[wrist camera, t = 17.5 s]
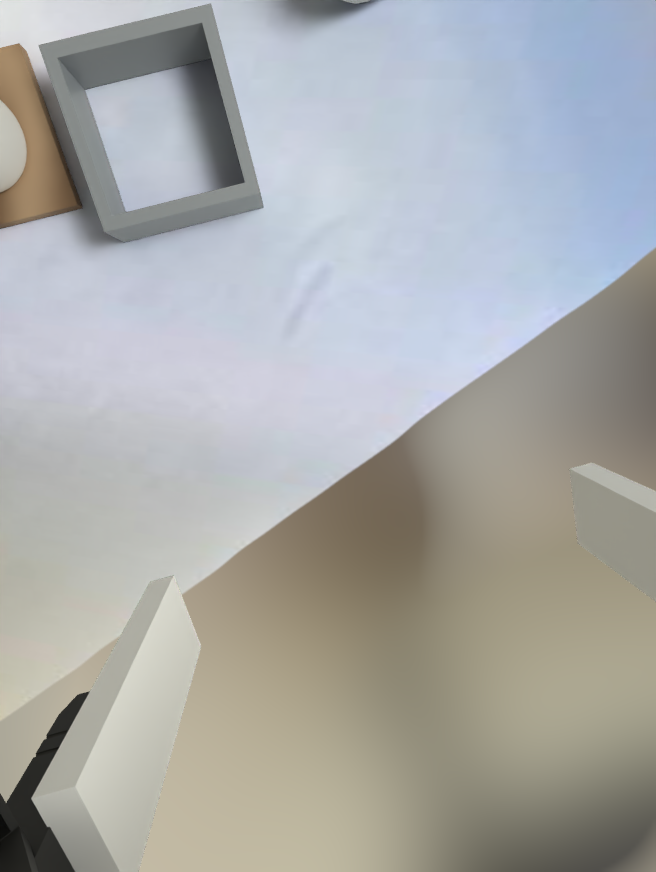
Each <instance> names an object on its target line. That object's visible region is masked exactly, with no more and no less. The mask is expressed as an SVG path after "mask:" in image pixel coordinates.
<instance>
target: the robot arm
mask: <svg viewBox="0 0 656 872" xmlns="http://www.w3.org/2000/svg"><path fill="white" fill-rule="evenodd" d="M570 478H571V486H572V496H573V505H574V513H575V521H576V531H577V540H578V544H579V545H581V546H582V547H583V548H585V549H586V550H587V551H589V552H590V553H592V554H593V555H594V556H595V557H597V558H598V559H599V560H601V561H602V562H603V563H605V564H606V565H607V566H609V567H610V568H612V569H613V570H614V571H615V572H617V573H618V574H619V575H621V576H622V577H624V578H625V579H626V580H627V581H629V582H630V583H631V584H633V585H634V586H635V587H637V588H638V589H639V590H641V591H642V592H643V593H645V594H646V595H647V596H649V597H650V598H651V599H653V600H654V601H655V602H656V491H654V490H652V489H650V488H647V487H645V486H643V485H641V484H639V483H636V482H634V481H632V480H630V479H627V478H625V477H623V476H621V475H618V474H616V473H614V472H612V471H609V470H607V469H605V468H603V467H601V466H598V465H596V464H594V463H589V464H585V465H582V466H578V467H574V468H571V469H570ZM200 649H201V645H200V642H199V640H198V637H197V634H196V631H195V629H194V627H193V624H192V621H191V619H190V616H189V613H188V611H187V608H186V606H185V603H184V600H183V598H182V595H181V593H180V590H179V587H178V585H177V582H176V580H175V577H174V575H173V576H169V577H165V578H162V579H158V580H154V581H151V582H150V583H149V585H148V587H147V588H146V590H145V592H144V594H143V596H142V598H141V599H140V601H139V603H138V605H137V607H136V608H135V610H134V612H133V614H132V616H131V618H130V619H129V621H128V623H127V625H126V627H125V628H124V630H123V632H122V634H121V636H120V638H119V639H118V641H117V643H116V645H115V647H114V649H113V650H112V653H111V654H110V656H109V658H108V659H107V662H106V663H105V665H104V667H103V669H102V670H101V672H100V674H99V676H98V678H97V680H96V681H95V683H94V685H93V687H92V689H91V690H90V691H89V692H86V693H82V694H79V695H77V696H76V697H75V698H74V699H73V700H72V701H71V702H70V703H69V705H68V706H67V707H66V708H65V709H64V710H63V711H62V712H61V713H60V714H59V715H58V717H57V719H56V720H55V722H54V724H53V726H52V727H51V729H50V731H49V732H48V734H47V739H45V740H44V741H43V742H42V744H41V746H40V748H39V749H38V751H37V753H36V757H34V758H33V759H32V761H31V763H30V764H29V766H28V767H27V769H26V771H25V773H24V774H23V776H22V778H21V780H20V781H19V783H18V784H17V786H16V788H15V789H14V791H13V793H12V794H11V796H10V798H9V799H8V801H7V803H5V801H4V799H3V797H2V796H1V794H0V872H139V868H140V865H141V861H142V858H143V854H144V850H145V847H146V843H147V840H148V836H149V832H150V829H151V825H152V821H153V818H154V814H155V810H156V807H157V803H158V800H159V796H160V793H161V789H162V786H163V782H164V778H165V774H166V771H167V768H168V764H169V760H170V757H171V753H172V750H173V746H174V742H175V739H176V735H177V732H178V728H179V724H180V720H181V717H182V714H183V710H184V706H185V703H186V699H187V696H188V692H189V688H190V685H191V681H192V678H193V673H194V670H195V667H196V663H197V659H198V656H199V652H200Z"/></svg>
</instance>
